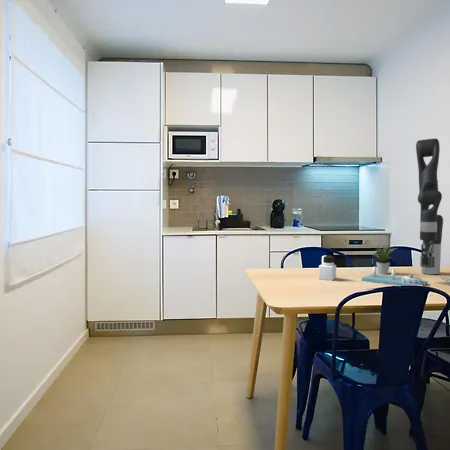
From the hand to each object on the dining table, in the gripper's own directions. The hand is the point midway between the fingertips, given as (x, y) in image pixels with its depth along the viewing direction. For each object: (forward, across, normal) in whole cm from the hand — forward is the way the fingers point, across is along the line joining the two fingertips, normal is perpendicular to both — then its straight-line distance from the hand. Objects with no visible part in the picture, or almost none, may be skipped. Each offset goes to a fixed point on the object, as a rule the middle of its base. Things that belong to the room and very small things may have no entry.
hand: (427, 263), depth 204 cm
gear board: (+9, +12, -12) cm, 19 cm away
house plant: (+10, -10, -24) cm, 28 cm away
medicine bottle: (+9, +27, -41) cm, 50 cm away
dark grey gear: (+1, 0, 0) cm, 1 cm away
